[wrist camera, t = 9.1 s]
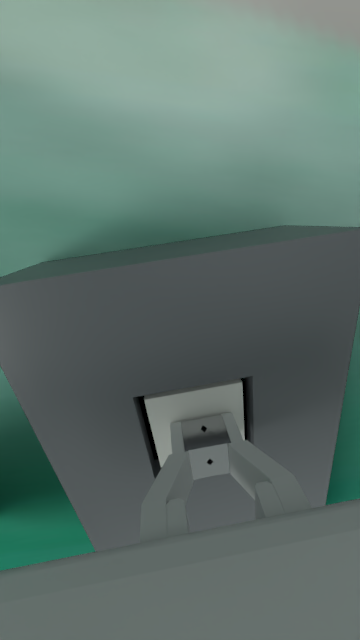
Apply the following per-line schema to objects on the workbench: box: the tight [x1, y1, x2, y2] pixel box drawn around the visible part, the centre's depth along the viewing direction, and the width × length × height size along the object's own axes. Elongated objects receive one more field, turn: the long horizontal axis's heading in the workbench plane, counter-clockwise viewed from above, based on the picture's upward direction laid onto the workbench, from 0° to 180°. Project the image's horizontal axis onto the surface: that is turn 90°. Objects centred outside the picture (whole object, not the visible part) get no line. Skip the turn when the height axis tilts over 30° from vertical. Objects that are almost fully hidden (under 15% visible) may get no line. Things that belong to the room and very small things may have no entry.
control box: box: [0, 225, 360, 552], centre depth 17 cm, size 14×30×6 cm, turn 8°
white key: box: [144, 378, 245, 467], centre depth 13 cm, size 4×4×3 cm
